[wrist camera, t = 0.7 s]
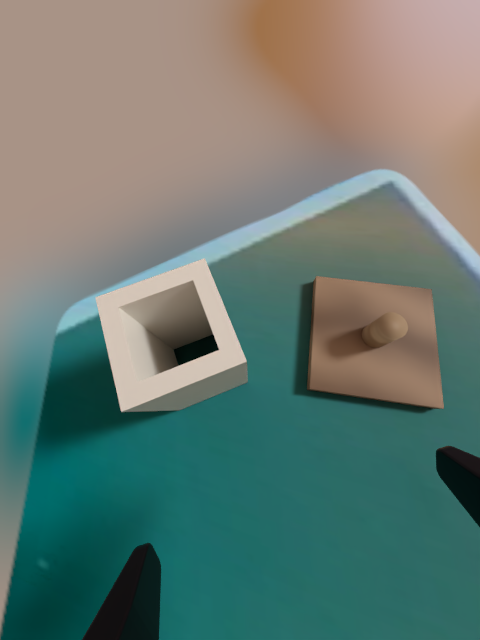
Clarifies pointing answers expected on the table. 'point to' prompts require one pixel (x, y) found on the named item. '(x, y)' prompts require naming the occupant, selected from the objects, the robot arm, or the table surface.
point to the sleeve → (169, 340)
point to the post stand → (374, 342)
